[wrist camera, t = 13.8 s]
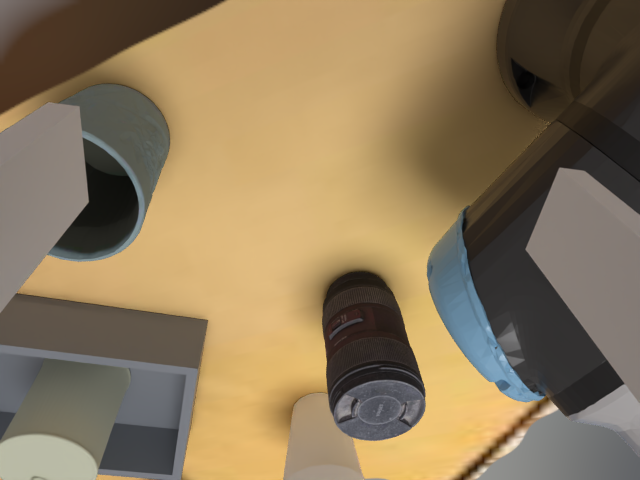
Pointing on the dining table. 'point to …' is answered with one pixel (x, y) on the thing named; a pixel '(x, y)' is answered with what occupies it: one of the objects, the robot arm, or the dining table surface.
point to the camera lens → (369, 360)
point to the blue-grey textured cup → (114, 170)
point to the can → (63, 422)
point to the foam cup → (319, 444)
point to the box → (113, 350)
